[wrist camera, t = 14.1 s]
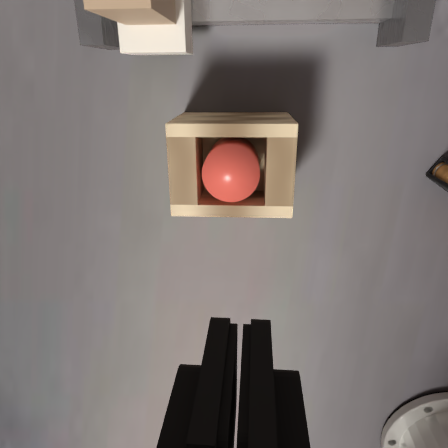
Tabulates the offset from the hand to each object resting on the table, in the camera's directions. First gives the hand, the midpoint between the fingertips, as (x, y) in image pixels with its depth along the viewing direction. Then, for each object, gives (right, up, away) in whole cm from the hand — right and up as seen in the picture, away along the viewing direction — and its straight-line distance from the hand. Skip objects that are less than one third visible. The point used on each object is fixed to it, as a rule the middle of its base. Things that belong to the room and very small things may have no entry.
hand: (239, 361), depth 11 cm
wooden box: (0, +10, +20) cm, 22 cm away
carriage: (-5, +18, +14) cm, 23 cm away
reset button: (0, +8, +16) cm, 18 cm away
